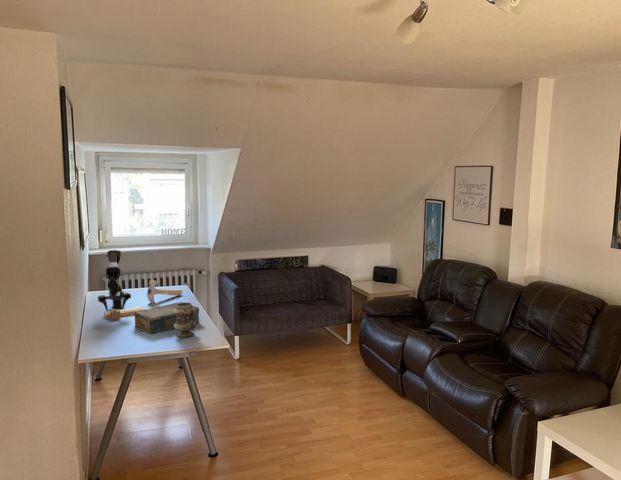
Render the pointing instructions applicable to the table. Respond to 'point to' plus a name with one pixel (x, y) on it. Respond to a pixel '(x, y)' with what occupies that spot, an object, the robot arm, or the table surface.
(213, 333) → the table surface
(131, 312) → the board
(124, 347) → the table surface
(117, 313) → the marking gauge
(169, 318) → the metal box
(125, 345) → the table surface
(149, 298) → the hammer
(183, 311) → the apothecary jar
